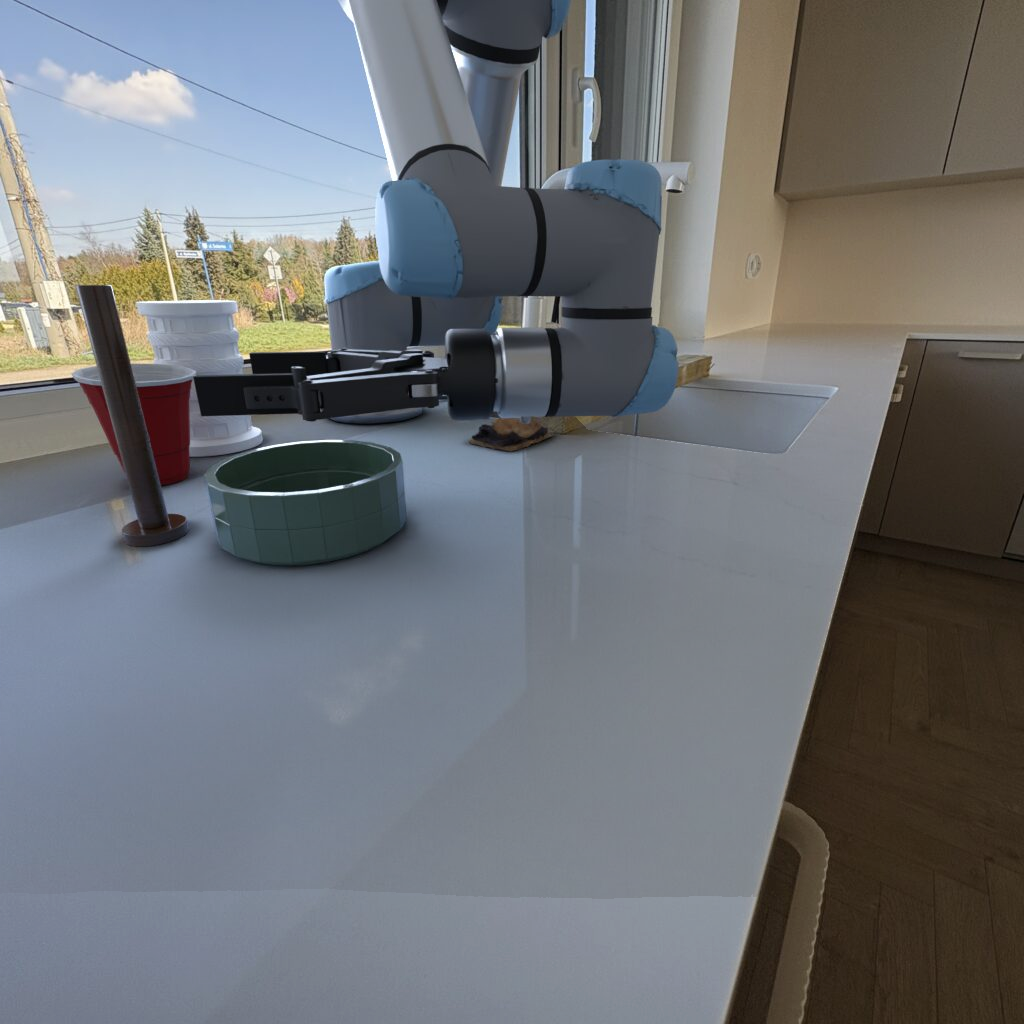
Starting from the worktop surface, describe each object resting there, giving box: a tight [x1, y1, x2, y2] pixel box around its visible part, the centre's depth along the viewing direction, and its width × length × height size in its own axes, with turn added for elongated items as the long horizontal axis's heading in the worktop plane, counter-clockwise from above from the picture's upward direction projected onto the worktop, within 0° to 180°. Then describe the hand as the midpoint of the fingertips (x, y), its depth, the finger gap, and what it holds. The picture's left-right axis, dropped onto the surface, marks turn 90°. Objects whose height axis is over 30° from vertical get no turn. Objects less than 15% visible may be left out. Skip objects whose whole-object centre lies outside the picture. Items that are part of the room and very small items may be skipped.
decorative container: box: [135, 299, 264, 458], centre depth 73 cm, size 12×12×18 cm
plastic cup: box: [70, 363, 196, 486], centre depth 61 cm, size 11×11×12 cm
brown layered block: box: [468, 416, 554, 453], centre depth 78 cm, size 11×8×4 cm
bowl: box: [203, 439, 408, 566], centre depth 49 cm, size 16×16×6 cm
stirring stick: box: [74, 284, 190, 547], centre depth 45 cm, size 5×5×20 cm
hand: (229, 380), depth 45 cm, fingers open, 13 cm apart
